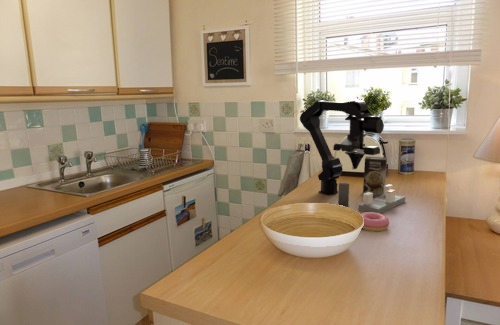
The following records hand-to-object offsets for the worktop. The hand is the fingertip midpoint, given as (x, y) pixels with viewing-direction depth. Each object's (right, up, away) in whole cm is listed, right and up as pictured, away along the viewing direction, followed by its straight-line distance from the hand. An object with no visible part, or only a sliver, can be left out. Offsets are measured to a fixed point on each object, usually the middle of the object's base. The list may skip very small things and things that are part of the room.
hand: (355, 168), depth 153 cm
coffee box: (+11, -11, +10) cm, 19 cm away
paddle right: (+13, -11, 0) cm, 17 cm away
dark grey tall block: (-7, -15, -6) cm, 17 cm away
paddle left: (+2, -14, -11) cm, 17 cm away
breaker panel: (+9, -15, -7) cm, 18 cm away
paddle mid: (+11, -13, -9) cm, 19 cm away
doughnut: (-2, -20, -28) cm, 34 cm away
